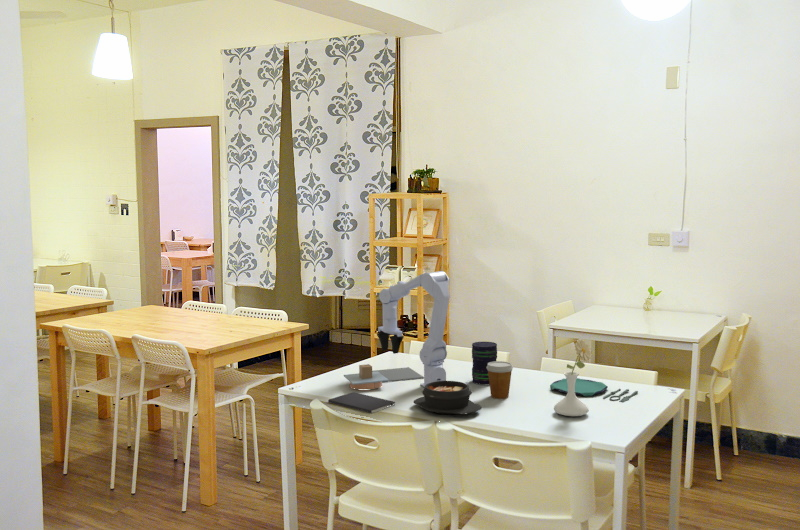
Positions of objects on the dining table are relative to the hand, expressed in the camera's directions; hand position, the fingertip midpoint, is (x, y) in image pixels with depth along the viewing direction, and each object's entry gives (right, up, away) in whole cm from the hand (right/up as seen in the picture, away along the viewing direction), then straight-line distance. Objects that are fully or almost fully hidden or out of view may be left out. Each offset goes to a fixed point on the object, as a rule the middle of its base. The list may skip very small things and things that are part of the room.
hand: (390, 351), depth 300 cm
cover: (-9, -9, -14) cm, 19 cm away
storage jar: (+37, -11, -9) cm, 40 cm away
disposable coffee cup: (+40, -13, -30) cm, 52 cm away
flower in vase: (+61, -15, -52) cm, 82 cm away
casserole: (+20, -15, -45) cm, 52 cm away
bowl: (-9, -12, -13) cm, 20 cm away
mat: (+2, -10, +3) cm, 11 cm away
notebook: (-10, -15, -36) cm, 40 cm away
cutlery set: (+74, -13, -26) cm, 80 cm away
